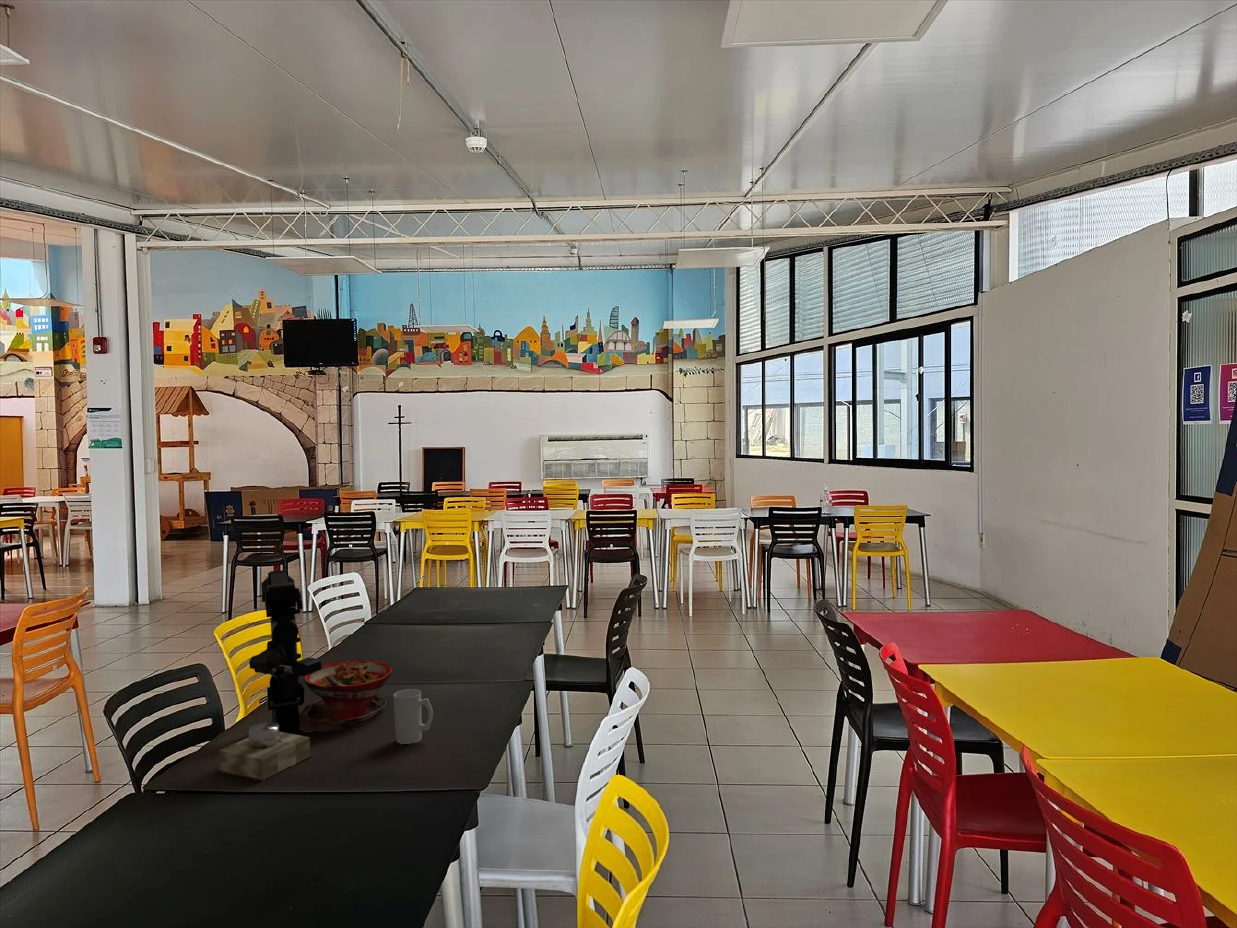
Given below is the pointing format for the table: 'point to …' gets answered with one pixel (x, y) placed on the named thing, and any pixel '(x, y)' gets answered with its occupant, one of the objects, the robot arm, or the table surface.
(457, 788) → the table surface
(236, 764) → the hitch block
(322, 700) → the stew
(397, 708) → the mug
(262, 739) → the pin
